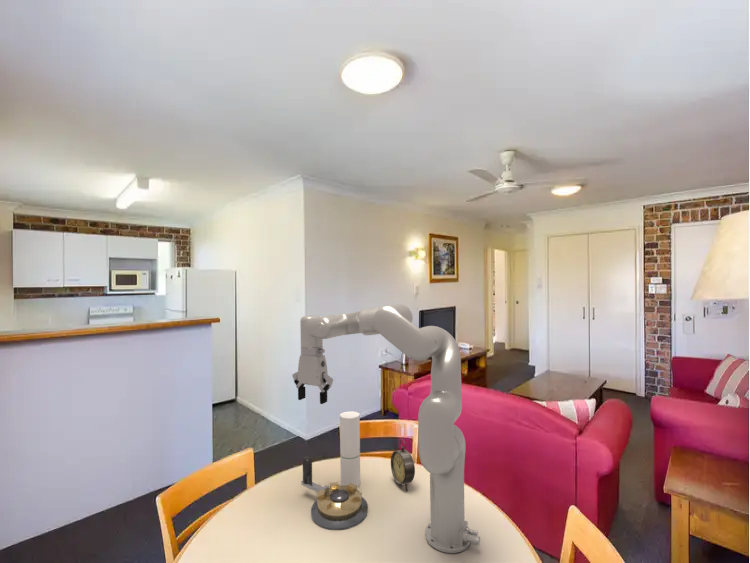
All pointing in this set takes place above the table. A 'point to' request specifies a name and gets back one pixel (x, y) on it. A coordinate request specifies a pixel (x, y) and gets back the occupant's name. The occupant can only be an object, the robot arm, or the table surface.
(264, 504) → the table surface
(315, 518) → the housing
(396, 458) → the alarm clock
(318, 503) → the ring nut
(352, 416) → the cylindrical container
